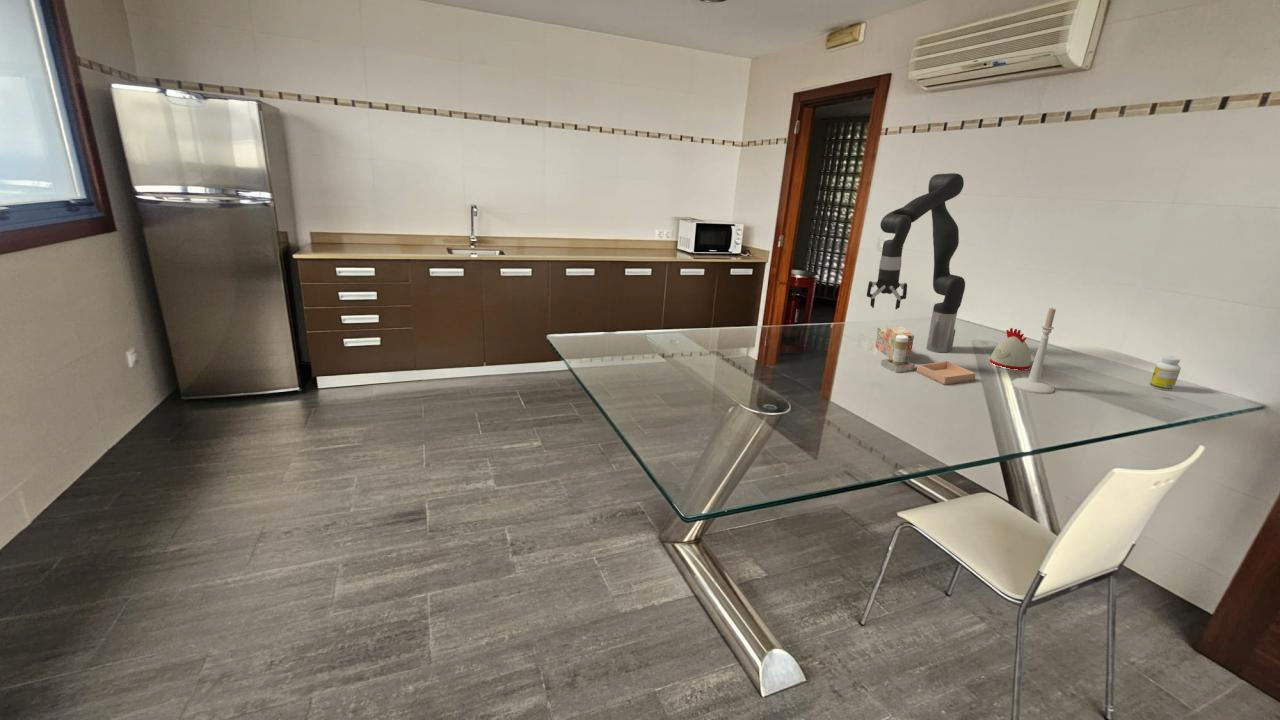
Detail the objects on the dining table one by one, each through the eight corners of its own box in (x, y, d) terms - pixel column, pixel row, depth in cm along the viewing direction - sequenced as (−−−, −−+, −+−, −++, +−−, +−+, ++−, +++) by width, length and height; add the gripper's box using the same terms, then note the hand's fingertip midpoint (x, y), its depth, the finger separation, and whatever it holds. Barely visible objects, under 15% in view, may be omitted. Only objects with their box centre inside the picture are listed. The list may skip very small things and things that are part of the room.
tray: (945, 368, 215) (946, 361, 214) (974, 380, 203) (976, 373, 202) (916, 372, 212) (917, 364, 211) (944, 384, 199) (945, 377, 198)
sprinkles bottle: (896, 365, 219) (901, 333, 215) (905, 368, 215) (911, 336, 211) (888, 367, 217) (893, 335, 213) (898, 370, 213) (903, 338, 209)
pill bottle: (1159, 383, 198) (1169, 354, 194) (1178, 390, 192) (1189, 360, 188) (1144, 385, 197) (1154, 355, 193) (1163, 391, 191) (1173, 361, 187)
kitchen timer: (1006, 357, 227) (1014, 323, 222) (1038, 368, 214) (1047, 332, 209) (981, 361, 223) (989, 326, 218) (1012, 372, 210) (1021, 336, 205)
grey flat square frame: (898, 363, 221) (899, 357, 220) (913, 370, 213) (914, 364, 213) (880, 365, 219) (881, 359, 218) (895, 372, 211) (896, 366, 210)
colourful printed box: (874, 347, 242) (878, 320, 238) (888, 347, 242) (893, 320, 237) (894, 363, 222) (898, 335, 218) (909, 363, 222) (914, 335, 217)
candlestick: (1063, 392, 191) (1085, 311, 181) (1031, 395, 189) (1052, 313, 179) (1033, 379, 203) (1052, 302, 193) (1003, 381, 201) (1021, 304, 191)
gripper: (909, 266, 208) (903, 307, 213) (870, 265, 213) (865, 304, 218) (910, 270, 201) (904, 312, 207) (869, 268, 206) (864, 309, 212)
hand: (884, 308), depth 212 cm, fingers open, 8 cm apart
